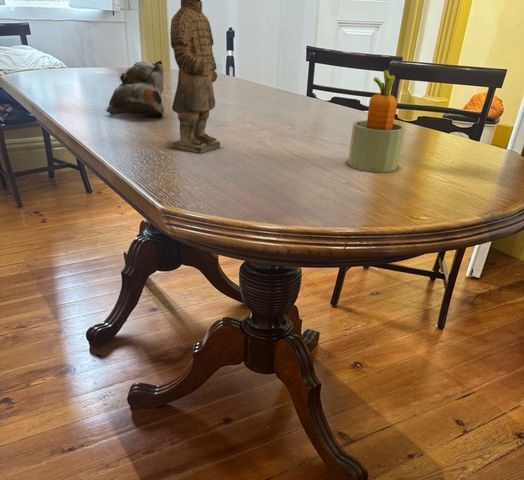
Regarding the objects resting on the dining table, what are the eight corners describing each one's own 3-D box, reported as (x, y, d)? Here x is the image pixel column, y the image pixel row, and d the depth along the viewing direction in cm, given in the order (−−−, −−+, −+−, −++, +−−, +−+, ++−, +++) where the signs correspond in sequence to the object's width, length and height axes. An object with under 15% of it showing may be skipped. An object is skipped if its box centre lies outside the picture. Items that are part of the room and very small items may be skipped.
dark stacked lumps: (97, 113, 123) (104, 53, 122) (141, 130, 132) (148, 74, 131) (128, 102, 113) (136, 37, 112) (174, 122, 121) (182, 61, 120)
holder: (399, 163, 98) (407, 123, 94) (393, 174, 91) (401, 132, 87) (353, 157, 100) (358, 118, 96) (343, 168, 93) (349, 126, 89)
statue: (196, 155, 95) (191, -48, 79) (164, 148, 99) (153, -49, 82) (228, 145, 103) (229, -42, 86) (197, 139, 106) (193, -43, 89)
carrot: (382, 167, 92) (398, 73, 84) (356, 162, 94) (369, 70, 86) (390, 161, 96) (406, 71, 88) (365, 157, 98) (378, 68, 90)
